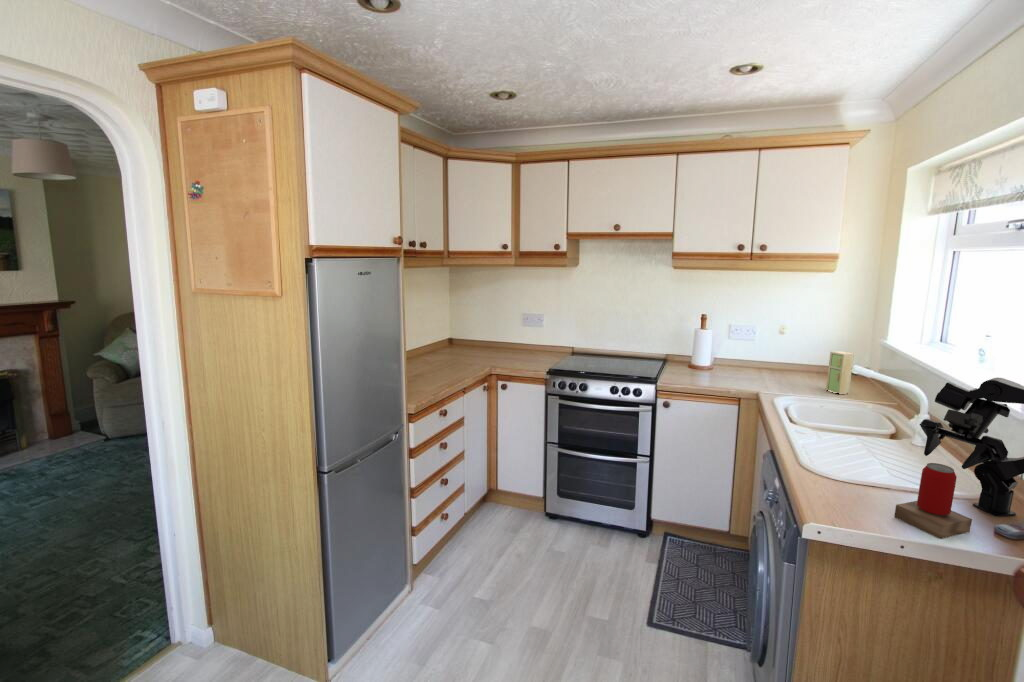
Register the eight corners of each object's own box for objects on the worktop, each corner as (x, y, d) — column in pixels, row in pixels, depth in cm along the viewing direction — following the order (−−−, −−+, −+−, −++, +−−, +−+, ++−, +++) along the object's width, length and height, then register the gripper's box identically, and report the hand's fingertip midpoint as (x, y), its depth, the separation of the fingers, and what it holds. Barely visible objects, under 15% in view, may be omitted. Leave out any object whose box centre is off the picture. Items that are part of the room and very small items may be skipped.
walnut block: (922, 511, 139) (924, 499, 139) (969, 532, 129) (972, 519, 129) (894, 517, 136) (896, 504, 135) (940, 538, 126) (942, 525, 125)
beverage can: (940, 507, 134) (948, 463, 132) (955, 519, 128) (964, 474, 126) (911, 503, 136) (918, 460, 134) (924, 515, 130) (931, 470, 128)
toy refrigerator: (824, 391, 266) (829, 351, 262) (834, 390, 268) (840, 350, 265) (837, 395, 258) (843, 354, 255) (848, 394, 261) (854, 353, 257)
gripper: (929, 391, 147) (896, 431, 145) (1009, 410, 129) (973, 456, 128) (943, 415, 151) (911, 455, 149) (1023, 437, 133) (988, 482, 131)
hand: (943, 461), depth 139 cm, fingers open, 9 cm apart
